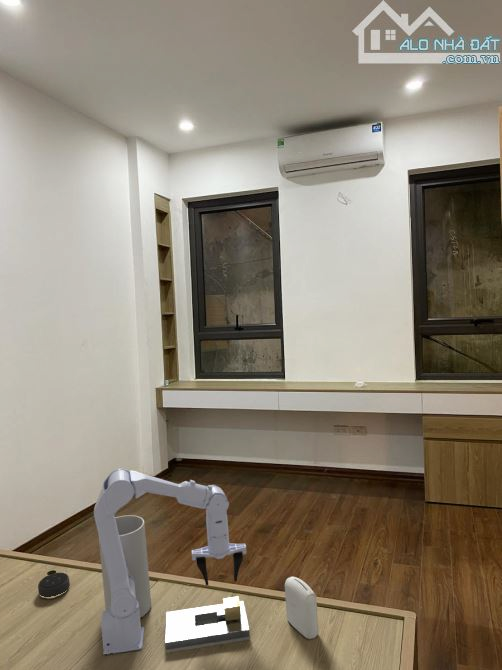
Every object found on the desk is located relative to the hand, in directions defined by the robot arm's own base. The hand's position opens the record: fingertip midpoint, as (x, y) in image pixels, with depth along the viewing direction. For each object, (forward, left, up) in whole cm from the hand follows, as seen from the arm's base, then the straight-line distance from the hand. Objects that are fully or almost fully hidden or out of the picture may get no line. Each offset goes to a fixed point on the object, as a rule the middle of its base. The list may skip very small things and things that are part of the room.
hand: (221, 581), depth 132 cm
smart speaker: (-50, +24, -11) cm, 57 cm away
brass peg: (+2, -4, -10) cm, 11 cm away
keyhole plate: (-5, -4, -10) cm, 12 cm away
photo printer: (+20, -9, -11) cm, 24 cm away
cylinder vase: (-26, +9, -10) cm, 30 cm away
